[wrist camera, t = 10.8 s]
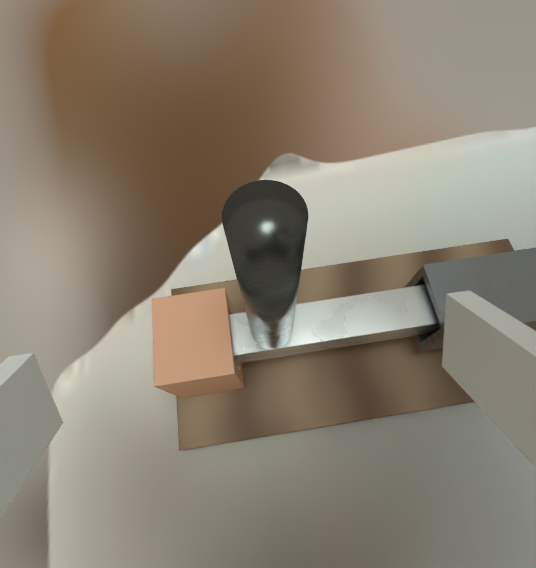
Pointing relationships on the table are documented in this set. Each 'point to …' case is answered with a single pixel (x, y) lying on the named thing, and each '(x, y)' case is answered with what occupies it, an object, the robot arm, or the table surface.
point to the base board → (330, 364)
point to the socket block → (194, 344)
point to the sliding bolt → (285, 282)
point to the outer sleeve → (481, 286)
